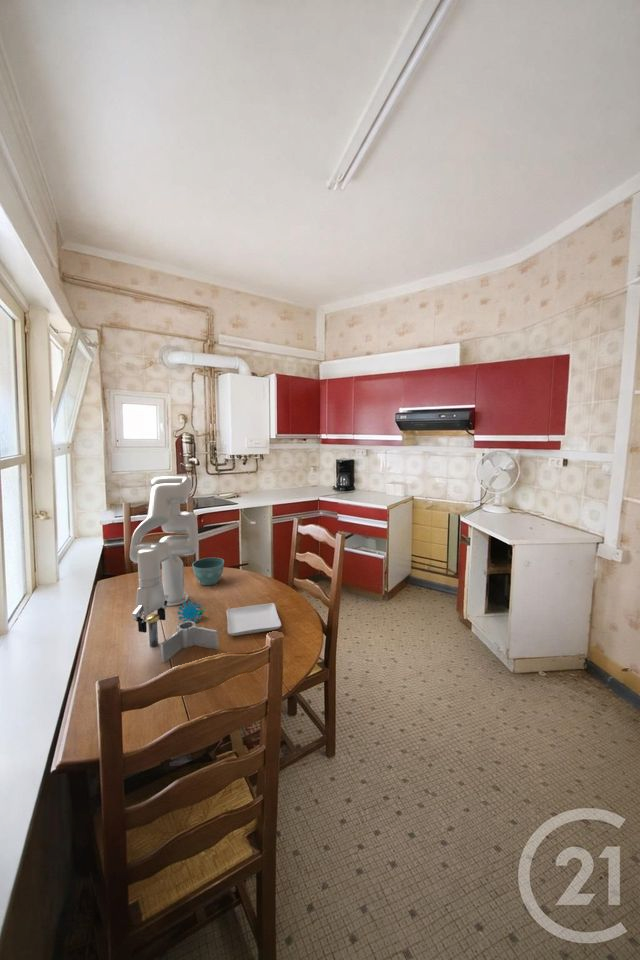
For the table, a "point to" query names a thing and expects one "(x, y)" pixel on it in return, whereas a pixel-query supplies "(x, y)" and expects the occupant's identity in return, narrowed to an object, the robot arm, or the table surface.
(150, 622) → the pin
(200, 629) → the hinge
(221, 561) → the teal bowl
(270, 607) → the salad plate
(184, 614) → the blue spiky piece
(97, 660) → the table surface
